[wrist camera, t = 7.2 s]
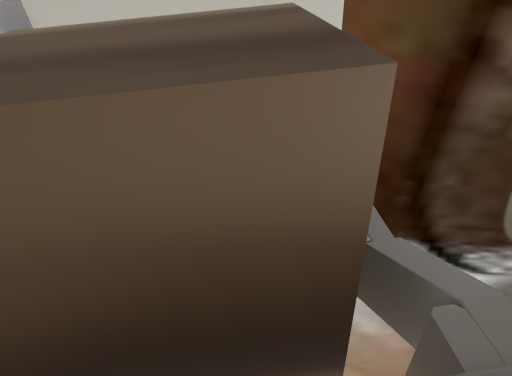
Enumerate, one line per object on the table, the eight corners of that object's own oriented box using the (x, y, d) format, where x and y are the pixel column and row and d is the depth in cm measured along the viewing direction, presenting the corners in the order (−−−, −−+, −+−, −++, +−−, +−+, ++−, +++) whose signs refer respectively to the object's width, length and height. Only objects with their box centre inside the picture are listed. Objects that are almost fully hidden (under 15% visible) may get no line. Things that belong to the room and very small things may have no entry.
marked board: (32, -26, 15) (10, -23, 13) (334, -53, 15) (348, -53, 14) (155, 279, 28) (152, 299, 26) (315, 258, 28) (321, 277, 27)
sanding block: (13, 30, 7) (-285, 136, 3) (293, 2, 7) (397, 62, 3) (144, 308, 13) (111, 473, 9) (295, 288, 13) (331, 439, 9)
